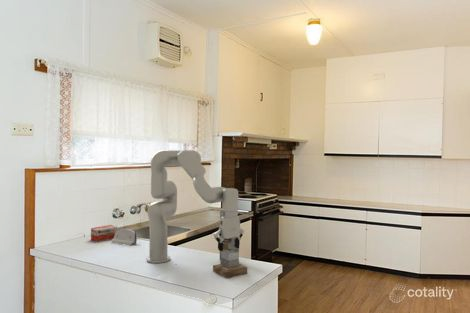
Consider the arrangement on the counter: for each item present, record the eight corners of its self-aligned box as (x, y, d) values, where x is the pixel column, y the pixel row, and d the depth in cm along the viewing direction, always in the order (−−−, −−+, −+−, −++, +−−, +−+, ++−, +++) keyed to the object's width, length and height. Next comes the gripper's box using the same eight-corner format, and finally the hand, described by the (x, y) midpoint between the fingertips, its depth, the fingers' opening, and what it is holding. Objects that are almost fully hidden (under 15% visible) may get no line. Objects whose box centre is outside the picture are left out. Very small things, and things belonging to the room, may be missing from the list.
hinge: (110, 242, 228) (114, 227, 231) (115, 243, 232) (119, 228, 235) (131, 245, 221) (135, 229, 224) (136, 246, 225) (139, 230, 228)
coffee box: (219, 260, 190) (219, 230, 190) (227, 258, 195) (227, 229, 195) (230, 264, 184) (230, 233, 184) (239, 261, 188) (239, 231, 188)
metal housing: (228, 268, 167) (228, 254, 167) (220, 265, 173) (220, 250, 172) (238, 266, 170) (238, 252, 170) (230, 262, 176) (230, 248, 176)
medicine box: (96, 242, 230) (96, 229, 230) (90, 240, 236) (90, 228, 236) (117, 237, 242) (117, 226, 242) (111, 236, 247) (111, 224, 247)
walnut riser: (212, 271, 173) (212, 264, 173) (232, 266, 180) (232, 260, 180) (226, 278, 163) (226, 271, 163) (247, 273, 170) (247, 266, 170)
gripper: (219, 216, 163) (218, 253, 164) (248, 213, 173) (247, 248, 174) (210, 214, 169) (209, 249, 170) (239, 211, 179) (238, 244, 180)
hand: (228, 249), depth 172 cm, fingers open, 9 cm apart
